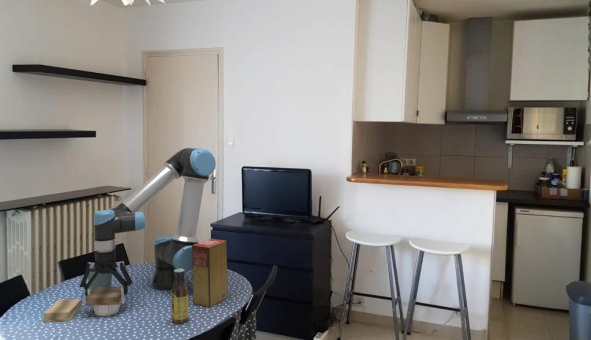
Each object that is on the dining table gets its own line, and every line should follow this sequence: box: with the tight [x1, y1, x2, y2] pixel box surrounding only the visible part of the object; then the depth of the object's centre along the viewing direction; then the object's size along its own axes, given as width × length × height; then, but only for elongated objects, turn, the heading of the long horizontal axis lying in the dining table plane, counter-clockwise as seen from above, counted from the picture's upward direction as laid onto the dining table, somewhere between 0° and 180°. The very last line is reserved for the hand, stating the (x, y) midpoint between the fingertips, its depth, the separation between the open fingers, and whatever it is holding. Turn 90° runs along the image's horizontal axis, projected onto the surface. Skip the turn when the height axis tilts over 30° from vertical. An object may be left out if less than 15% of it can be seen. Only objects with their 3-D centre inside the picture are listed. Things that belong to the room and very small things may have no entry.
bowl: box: [93, 302, 121, 317], centre depth 181 cm, size 9×9×5 cm
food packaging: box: [192, 238, 229, 308], centre depth 193 cm, size 13×9×25 cm
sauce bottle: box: [170, 269, 190, 324], centre depth 172 cm, size 6×6×20 cm
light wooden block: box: [43, 298, 83, 323], centre depth 178 cm, size 9×14×4 cm, turn 7°
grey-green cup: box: [87, 266, 113, 291], centre depth 199 cm, size 10×10×12 cm
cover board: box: [85, 286, 122, 307], centre depth 181 cm, size 12×12×3 cm
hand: (106, 303), depth 181 cm, fingers closed on cover board, 12 cm apart
